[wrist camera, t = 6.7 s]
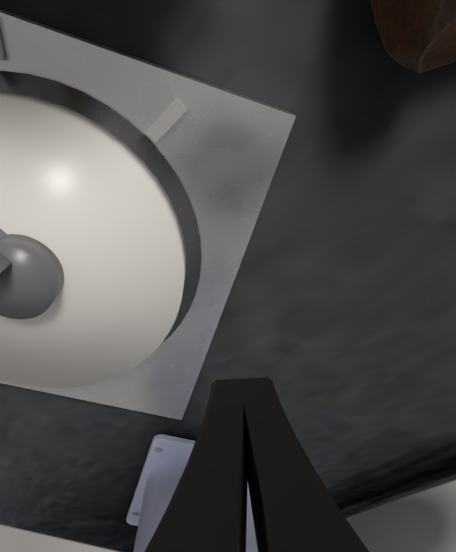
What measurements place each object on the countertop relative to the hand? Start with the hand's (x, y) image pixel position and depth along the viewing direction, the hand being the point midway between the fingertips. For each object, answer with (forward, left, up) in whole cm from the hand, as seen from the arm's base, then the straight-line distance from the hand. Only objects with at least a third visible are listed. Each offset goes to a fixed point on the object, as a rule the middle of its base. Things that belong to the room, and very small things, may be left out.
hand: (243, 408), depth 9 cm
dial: (-2, +8, -7) cm, 11 cm away
